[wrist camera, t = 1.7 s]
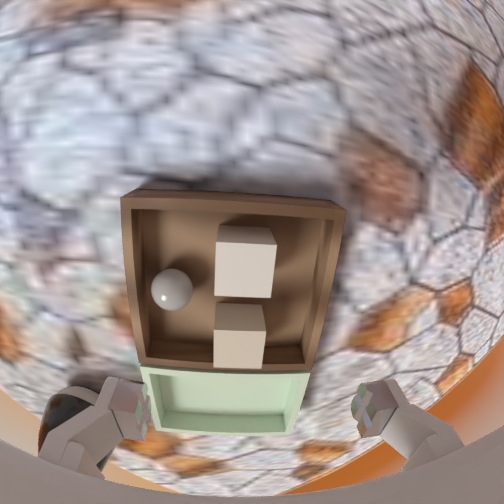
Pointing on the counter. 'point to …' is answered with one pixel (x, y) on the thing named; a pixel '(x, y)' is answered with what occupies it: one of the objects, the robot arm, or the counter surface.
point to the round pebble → (172, 289)
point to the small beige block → (244, 261)
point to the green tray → (224, 400)
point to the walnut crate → (203, 271)
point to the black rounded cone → (67, 412)
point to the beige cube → (239, 336)
